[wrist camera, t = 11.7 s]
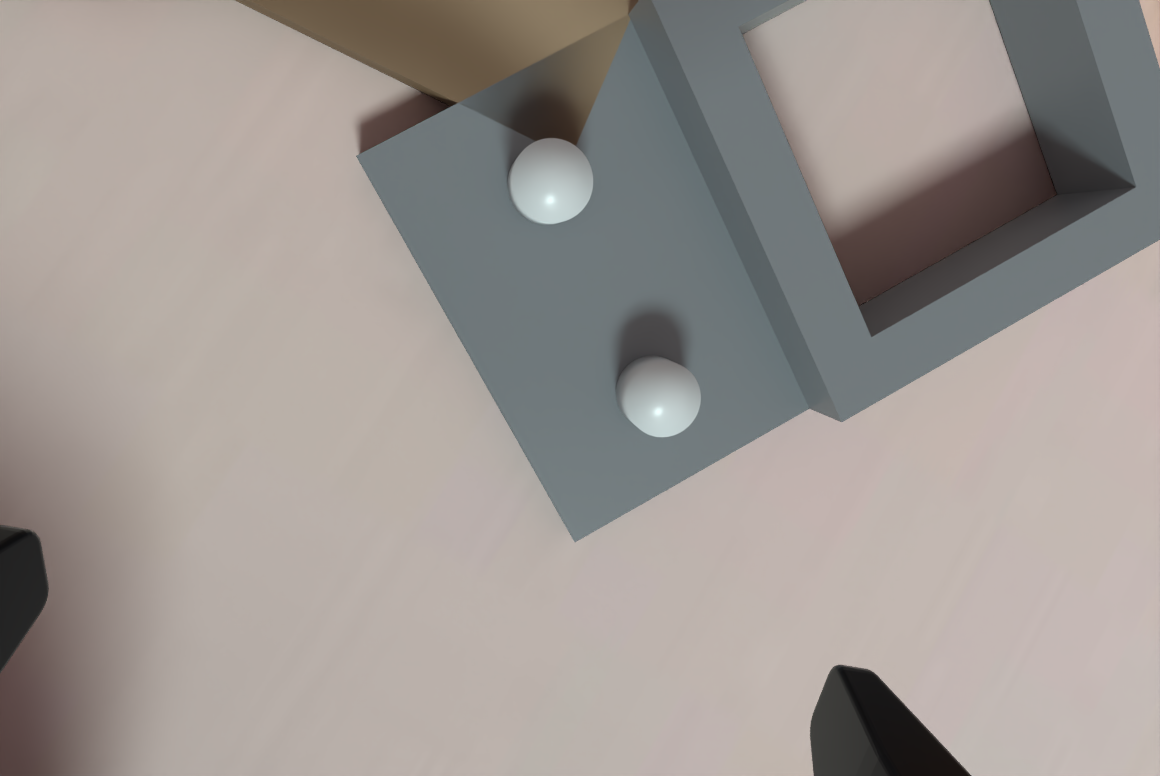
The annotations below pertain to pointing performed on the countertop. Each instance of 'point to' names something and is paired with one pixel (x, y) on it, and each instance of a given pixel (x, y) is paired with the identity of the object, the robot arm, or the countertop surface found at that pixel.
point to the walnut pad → (473, 47)
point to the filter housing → (736, 244)
